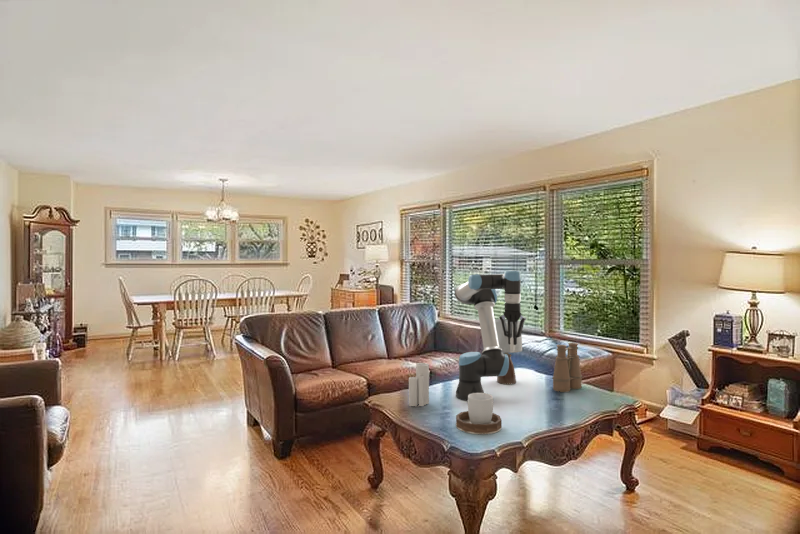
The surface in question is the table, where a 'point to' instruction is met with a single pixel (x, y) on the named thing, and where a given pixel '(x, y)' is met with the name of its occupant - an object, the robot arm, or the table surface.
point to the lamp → (507, 351)
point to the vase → (419, 386)
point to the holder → (466, 425)
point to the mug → (480, 408)
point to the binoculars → (567, 369)
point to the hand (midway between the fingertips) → (512, 351)
